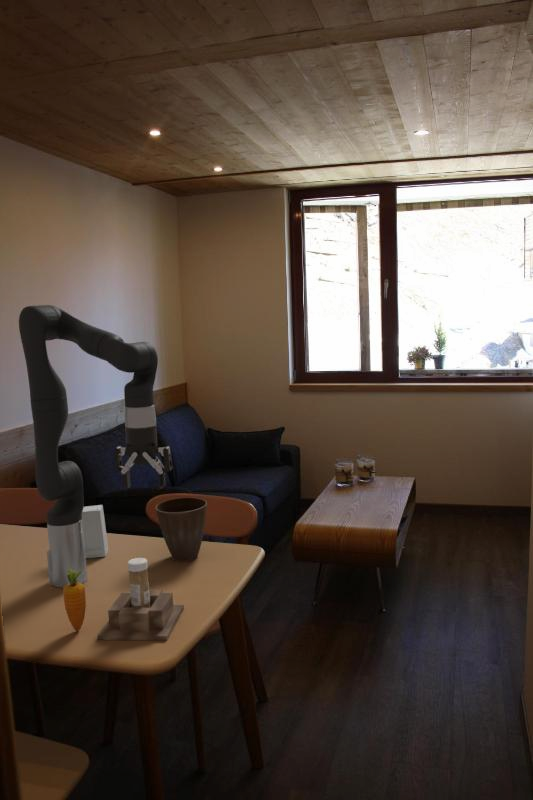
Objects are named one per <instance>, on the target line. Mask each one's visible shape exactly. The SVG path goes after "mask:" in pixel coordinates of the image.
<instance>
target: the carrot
mask: <svg viewBox="0 0 533 800" xmlns="http://www.w3.org/2000/svg"><path fill="white" fill-rule="evenodd" d="M68 572H69V573H67V578H68V580H69V582H70V584H68V585H66V586H65V587H64V588H62V594H63V601H64V608H65V611H66V615H67V618H68V621H69V622H70V624H71V627H72V628H73V629H74V631H76V632H77V631H78V632H79V631H80V630H81V628H82V626H83V624H84V620H85V616H86V608H87V607H86V606H87V605H86V603H87V602H86V588H85V586H84V583H82V584H81V583H76V582H77V581H78V579H77V578H78V576H79V574H80V573H81V572H82V571H79V572H78V573H77V575H76V571H73V573H72V569H69V570H68ZM75 575H76V576H75Z"/></svg>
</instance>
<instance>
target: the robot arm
mask: <svg viewBox="0 0 533 800" xmlns="http://www.w3.org/2000/svg"><path fill="white" fill-rule="evenodd" d="M18 317H19V318H18V330H19V335H20V341H21V345H22V349H23V354H24V358H25V359H24V361H25V365H26V372H27V379H28V387H29V388H28V389H29V399H30V409H31V410H30V411H31V416H32V422H33V434H34V443H35V445H34V446H35V451H34V452H35V482H36V488H37V490H38V491H37V492H38V493H39V495H40V497H41V498H42V499H44V500H45V501H48V502H51V501H52V502H53V501H55V503H54V505H53V506H52V507H51V508H50V509H49V510H48V511H47V513H46V516H45V518H46V519H45V520H46V525H47V534H48V535H47V538H48V547H49V548H48V550H47V552H46V558H47V559H46V561H47V569H48V580H49V586H54V587H57V588H62V589H63V588H64V587H65V586H66V585H68V584H70V582H69V580H68V578H67V573H69V572H68V570H69V569H72V573H73V571H76V575H77V573H78V572H79V571H82V572H81V573H80V574H79V576H78V578H77V579H78V581H77V582H76V583H81V584H84V583H86V582H87V580H88V570H87V558H86V556H85V545H84V534H83V524H82V511H83V508H84V507H85V506H84V505H85V502H84V501H85V500H84V482H83V481H84V480H83V475H82V471H81V469H80V467H79V466H78V465H77V463H76V462H74V461H71V460H64V461H60V462H59V455H58V454H59V445H60V440H61V437H62V435H63V433H64V429H65V427H66V425H67V421H68V417H69V407H68V405H69V404H68V396H67V390H66V386H65V385H64V383H63V381H62V379H61V378H60V376H59V375H58V374H57V372H56V371H55V368H54V367H53V366H52V364H51V361H50V359H49V354H48V350H47V342H48V341H54V340H63V341H67V342H68V341H69V342H72V343H74V344H75V345H77V346H78V347H79V348H80V349H81V351H83V352H85V353H86V354H88V355H90V356H93V357H94V358H98V359H100V360H103V361H104V362H107V363H108V364H110V365H111V366H112V367H114V368H115V369H116V370H118V371H121V372H123V373H128V374H129V373H131V374H133V376H132V379H131V380H130V381H129V382H127V383H126V384H125V385H124V388H123V389H124V390H123V392H124V395H123V396H124V428H125V440H126V441H125V443H126V444H125V445H126V446H125V447H122V445H117V447H115V448H114V449H113V470H114V472H119V473H120V474H121V478H122V486H124V488H125V489H130V488H131V486H132V485H131V484H132V483H131V472H130V469H131V468H132V467H133V466H134V465H135V466H139V465H144V466H149V465H150V466H152V468H153V469H155V471H156V472H157V473H158V474H157V485H158V486H157V489H158V490H159V489H160V490H161V489H163V488H164V486H166V473H169V472H170V471H172V469H173V459H172V452H171V446H169V445H167V446H163V447H159V444H158V433H157V416H156V409H155V397H154V394H155V393H154V387H155V386H154V385H155V381H156V375H157V371H158V365H159V364H158V362H159V359H158V358H159V356H158V353H157V350H156V348H155V347H154V345H153V344H152V343H150V342H148V341H140V342H139V341H137V342H130V343H129V342H125V340H124V339H123V338H122V337H121V336H120V335H118V334H116V333H113V332H110V331H108V330H104V329H102V328H99V327H96V326H93V325H91V324H88V323H87V322H84V321H82V320H80V319H79V318H76V317H75V316H74V315H72V314H70V313H68V312H67V311H65V310H64V309H62V308H59V307H57V306H55V305H51V304H46V305H45V304H44V305H43V304H41V305H28V306H27V305H26V306H25V307H24V308H22V310H21V311H20V313H19V316H18ZM159 453H160V455H161V456H162V457H163V462H164V464H163V463H162V462H161V460H160V459H159V457H158V455H159ZM125 454H126V455H127V457H128V460H127V461H126V463H125V464H124V466H123V456H124V455H125ZM76 575H75V576H76Z"/></svg>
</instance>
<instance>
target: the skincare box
mask: <svg viewBox="0 0 533 800" xmlns="http://www.w3.org/2000/svg"><path fill="white" fill-rule="evenodd" d="M82 524H83V534H84V545H85V556H86V559H93V558H104V557H106V556H107V553H108V552H109V544H108V543H109V542H108V536H107V529H106V521H105V513H104V506H103V504H98V505H88V506H84V508H83V511H82Z"/></svg>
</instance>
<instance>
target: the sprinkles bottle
mask: <svg viewBox="0 0 533 800" xmlns="http://www.w3.org/2000/svg"><path fill="white" fill-rule="evenodd" d="M148 563H149V562H148V559H147V558H144V557H136V558H132V559H129V560H128V561H127V570H128V576H129V589H130V590H129V591H130V592H129V593H131V603H132V608H150V594H149V590H150V585H149V584H150V583H149V575H148V568H149V564H148Z"/></svg>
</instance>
